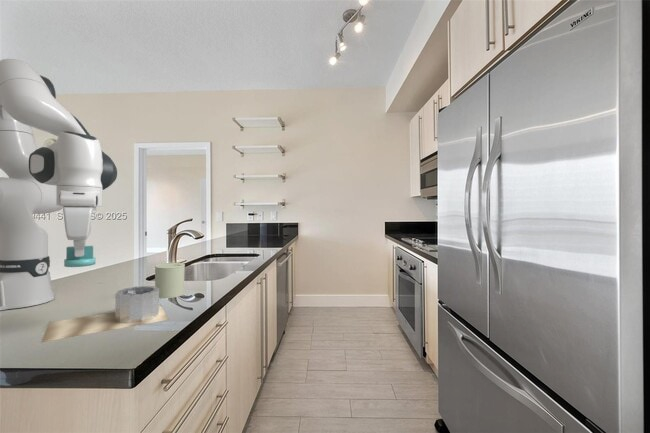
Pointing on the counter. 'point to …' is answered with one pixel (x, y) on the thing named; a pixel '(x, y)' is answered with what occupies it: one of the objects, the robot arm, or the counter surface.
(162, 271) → the can
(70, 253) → the teal disc with post
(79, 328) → the base plate
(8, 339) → the counter surface
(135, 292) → the white thick faceted ring
